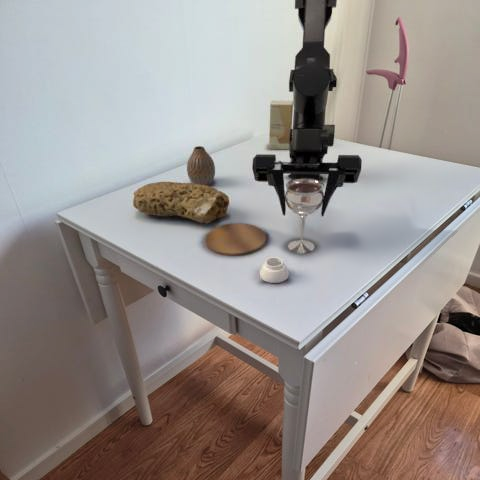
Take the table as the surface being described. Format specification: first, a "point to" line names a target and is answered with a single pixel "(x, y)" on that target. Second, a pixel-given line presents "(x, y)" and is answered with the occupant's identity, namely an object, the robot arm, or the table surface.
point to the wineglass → (303, 206)
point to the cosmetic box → (280, 124)
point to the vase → (200, 167)
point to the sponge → (181, 201)
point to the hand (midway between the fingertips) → (302, 215)
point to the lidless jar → (274, 270)
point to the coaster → (235, 239)
